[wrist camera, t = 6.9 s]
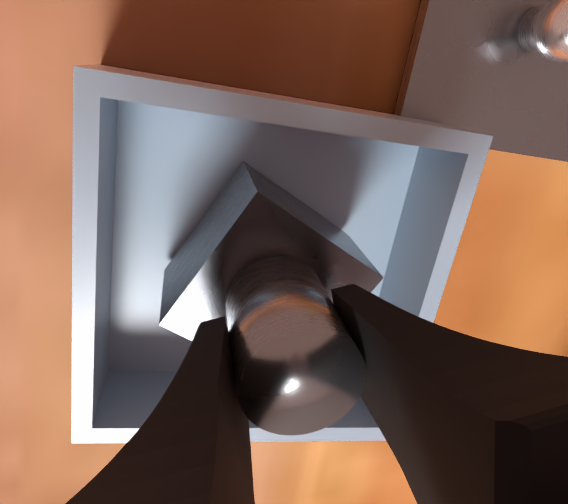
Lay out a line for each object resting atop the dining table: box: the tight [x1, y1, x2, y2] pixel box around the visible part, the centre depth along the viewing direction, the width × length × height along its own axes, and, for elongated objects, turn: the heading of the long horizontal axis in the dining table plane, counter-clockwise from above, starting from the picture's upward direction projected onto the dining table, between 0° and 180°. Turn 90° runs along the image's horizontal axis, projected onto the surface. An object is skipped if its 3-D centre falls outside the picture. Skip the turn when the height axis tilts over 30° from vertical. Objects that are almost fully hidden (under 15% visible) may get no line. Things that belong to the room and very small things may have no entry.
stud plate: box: [394, 0, 568, 162], centre depth 14 cm, size 8×8×3 cm
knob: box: [159, 161, 384, 435], centre depth 13 cm, size 5×5×7 cm
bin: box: [71, 65, 493, 443], centre depth 15 cm, size 11×11×4 cm
